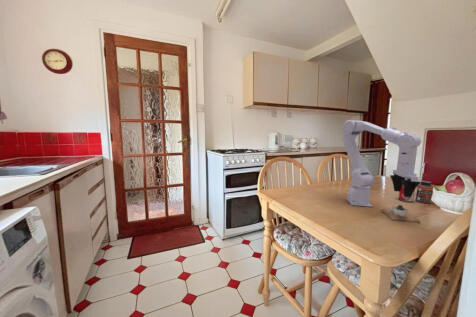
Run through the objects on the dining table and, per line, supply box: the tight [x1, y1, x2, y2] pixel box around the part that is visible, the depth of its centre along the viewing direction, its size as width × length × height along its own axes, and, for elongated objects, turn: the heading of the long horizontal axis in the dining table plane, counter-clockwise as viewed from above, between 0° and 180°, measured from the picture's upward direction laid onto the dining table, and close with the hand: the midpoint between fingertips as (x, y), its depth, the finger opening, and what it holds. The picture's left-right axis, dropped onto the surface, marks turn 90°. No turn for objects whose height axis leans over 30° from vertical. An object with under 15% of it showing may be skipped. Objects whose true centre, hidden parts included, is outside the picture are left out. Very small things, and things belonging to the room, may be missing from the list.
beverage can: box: [397, 179, 416, 203], centre depth 104 cm, size 6×6×12 cm
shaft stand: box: [380, 204, 421, 224], centre depth 84 cm, size 10×10×5 cm
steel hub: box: [391, 206, 409, 218], centre depth 85 cm, size 5×5×3 cm
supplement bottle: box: [415, 180, 434, 205], centre depth 103 cm, size 6×6×11 cm
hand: (402, 193), depth 83 cm, fingers open, 7 cm apart
